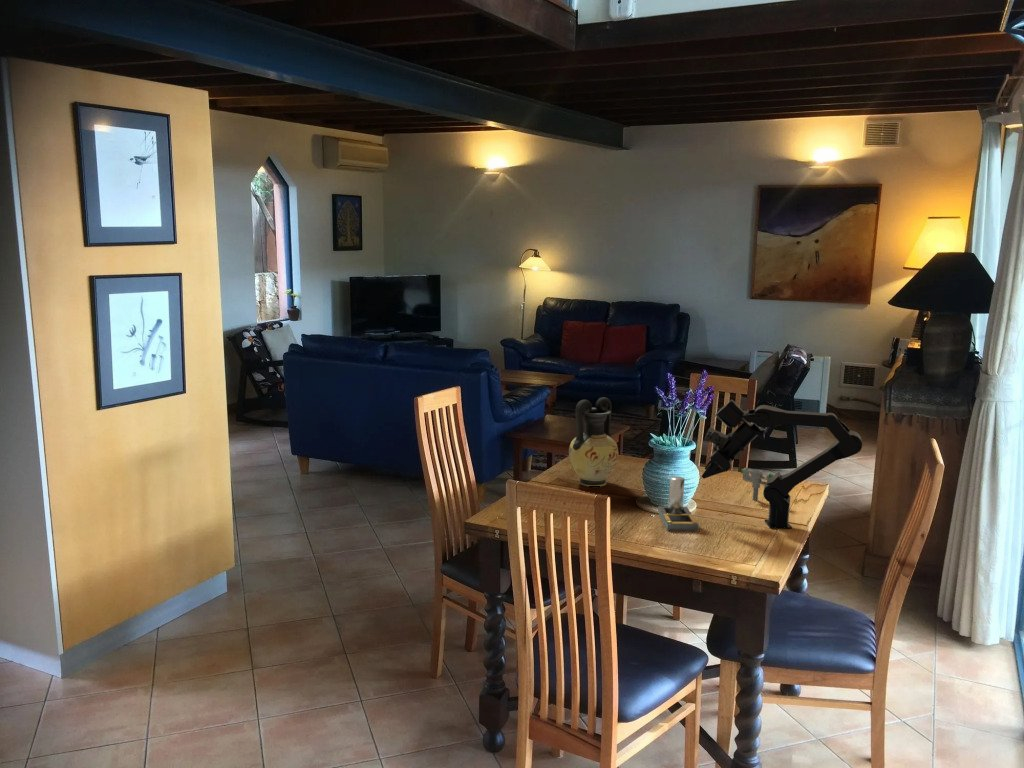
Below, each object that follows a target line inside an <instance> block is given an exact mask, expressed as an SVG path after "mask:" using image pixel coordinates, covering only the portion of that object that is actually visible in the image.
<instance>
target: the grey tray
mask: <svg viewBox="0 0 1024 768" xmlns="http://www.w3.org/2000/svg"><path fill="white" fill-rule="evenodd" d="M658 512H659V514H658V515H659V518H660V519H661V522H662V523H663V525H664V527H665V529H666V531H669V532H670V531H671V532H672V531H675V532H679V531H680V532H699V523H698V521H697V520H696V518H695V517H694V515H693V514H692V512H691V511H690V509H689V508H688V507H687V506H683V514H667V513H668V506H664V505H663V506H657V513H658Z"/></svg>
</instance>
